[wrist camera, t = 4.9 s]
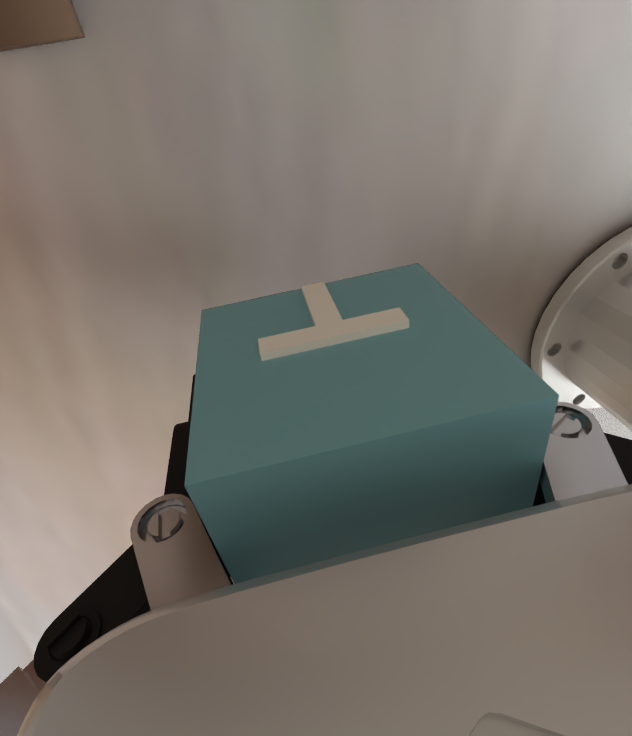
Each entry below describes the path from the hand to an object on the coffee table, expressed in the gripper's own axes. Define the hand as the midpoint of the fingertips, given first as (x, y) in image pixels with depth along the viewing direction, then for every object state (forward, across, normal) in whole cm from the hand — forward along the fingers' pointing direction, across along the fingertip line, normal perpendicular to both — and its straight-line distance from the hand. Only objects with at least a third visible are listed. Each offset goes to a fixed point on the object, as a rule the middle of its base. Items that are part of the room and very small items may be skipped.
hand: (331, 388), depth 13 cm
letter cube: (+1, 0, 0) cm, 1 cm away
